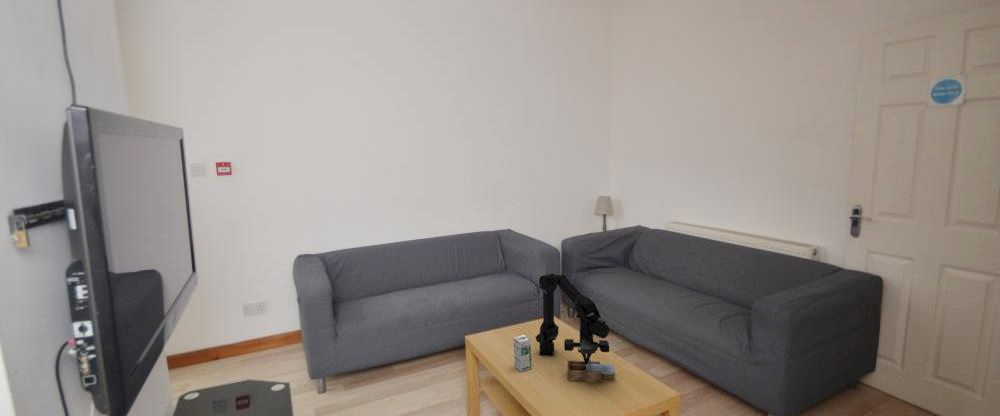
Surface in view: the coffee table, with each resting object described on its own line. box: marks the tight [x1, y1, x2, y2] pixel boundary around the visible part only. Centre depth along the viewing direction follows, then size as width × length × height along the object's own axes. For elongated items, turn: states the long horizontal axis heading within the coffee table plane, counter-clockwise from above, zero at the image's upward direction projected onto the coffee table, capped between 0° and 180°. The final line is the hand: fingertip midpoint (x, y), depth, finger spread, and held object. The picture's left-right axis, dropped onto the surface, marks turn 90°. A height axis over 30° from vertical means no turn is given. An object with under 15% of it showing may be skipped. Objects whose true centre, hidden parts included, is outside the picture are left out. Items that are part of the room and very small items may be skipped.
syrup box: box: [512, 334, 533, 373], centre depth 201 cm, size 6×6×14 cm
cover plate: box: [586, 358, 616, 375], centre depth 192 cm, size 12×7×3 cm, turn 82°
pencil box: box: [567, 359, 602, 383], centre depth 193 cm, size 14×9×5 cm, turn 82°
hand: (586, 364), depth 193 cm, fingers closed
